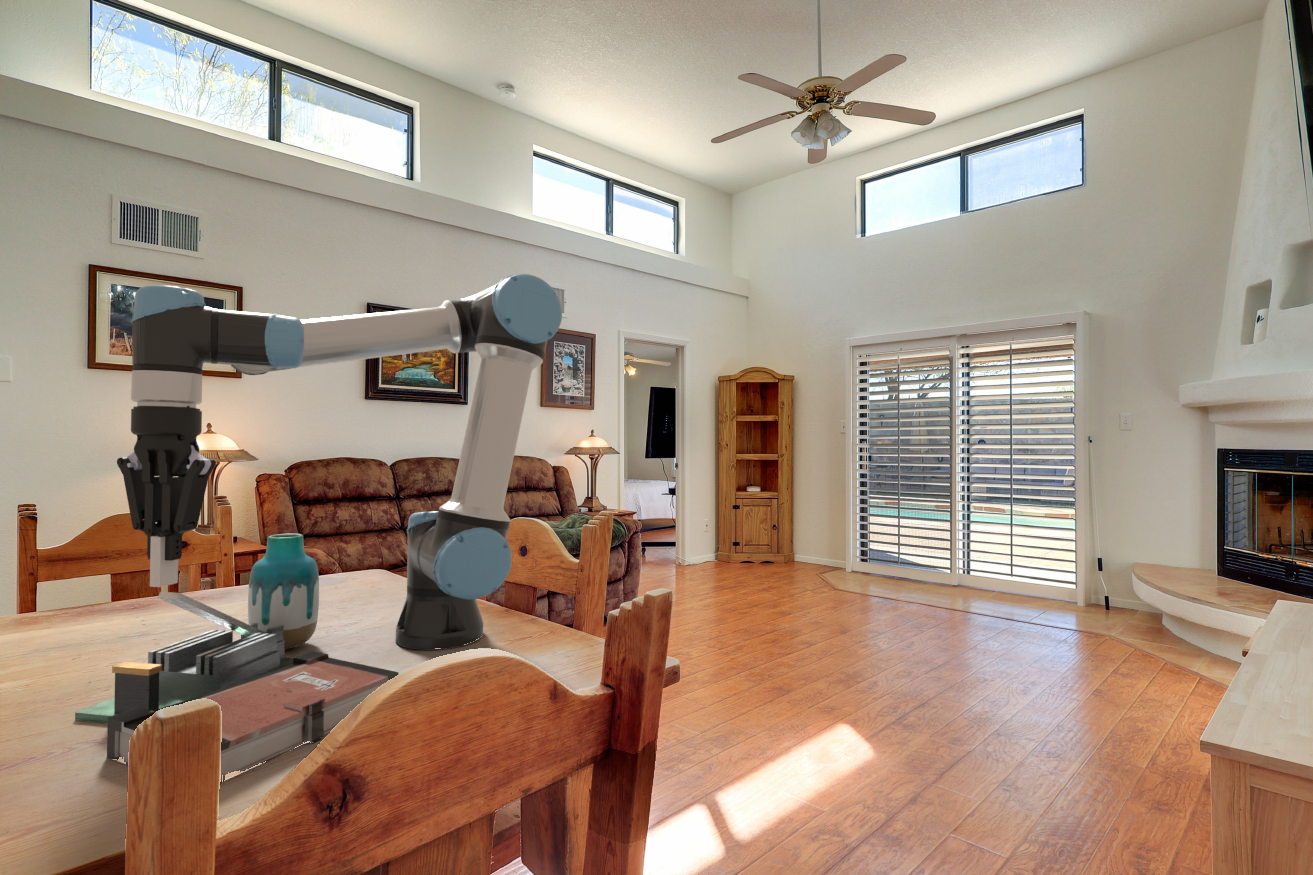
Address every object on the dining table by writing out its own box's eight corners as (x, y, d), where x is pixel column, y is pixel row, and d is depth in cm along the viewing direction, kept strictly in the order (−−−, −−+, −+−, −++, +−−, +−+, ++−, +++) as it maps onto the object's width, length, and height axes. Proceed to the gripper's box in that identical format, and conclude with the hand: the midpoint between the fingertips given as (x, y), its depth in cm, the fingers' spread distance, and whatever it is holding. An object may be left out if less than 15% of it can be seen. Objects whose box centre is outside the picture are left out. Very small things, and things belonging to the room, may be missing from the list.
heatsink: (311, 665, 105) (311, 621, 105) (178, 730, 81) (179, 673, 81) (227, 658, 108) (228, 615, 108) (75, 720, 84) (76, 664, 84)
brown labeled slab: (205, 798, 67) (206, 749, 67) (106, 761, 74) (107, 717, 74) (401, 705, 91) (402, 669, 91) (312, 684, 98) (313, 650, 98)
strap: (269, 640, 104) (271, 635, 105) (177, 598, 88) (180, 592, 88) (252, 639, 105) (254, 634, 105) (157, 597, 88) (160, 591, 89)
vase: (268, 661, 106) (270, 542, 106) (234, 649, 112) (236, 536, 112) (331, 645, 115) (332, 534, 115) (296, 634, 121) (298, 529, 121)
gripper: (233, 407, 90) (230, 581, 90) (151, 406, 92) (147, 576, 92) (185, 404, 83) (182, 593, 83) (97, 403, 85) (93, 588, 85)
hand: (163, 584), depth 88 cm, fingers closed
